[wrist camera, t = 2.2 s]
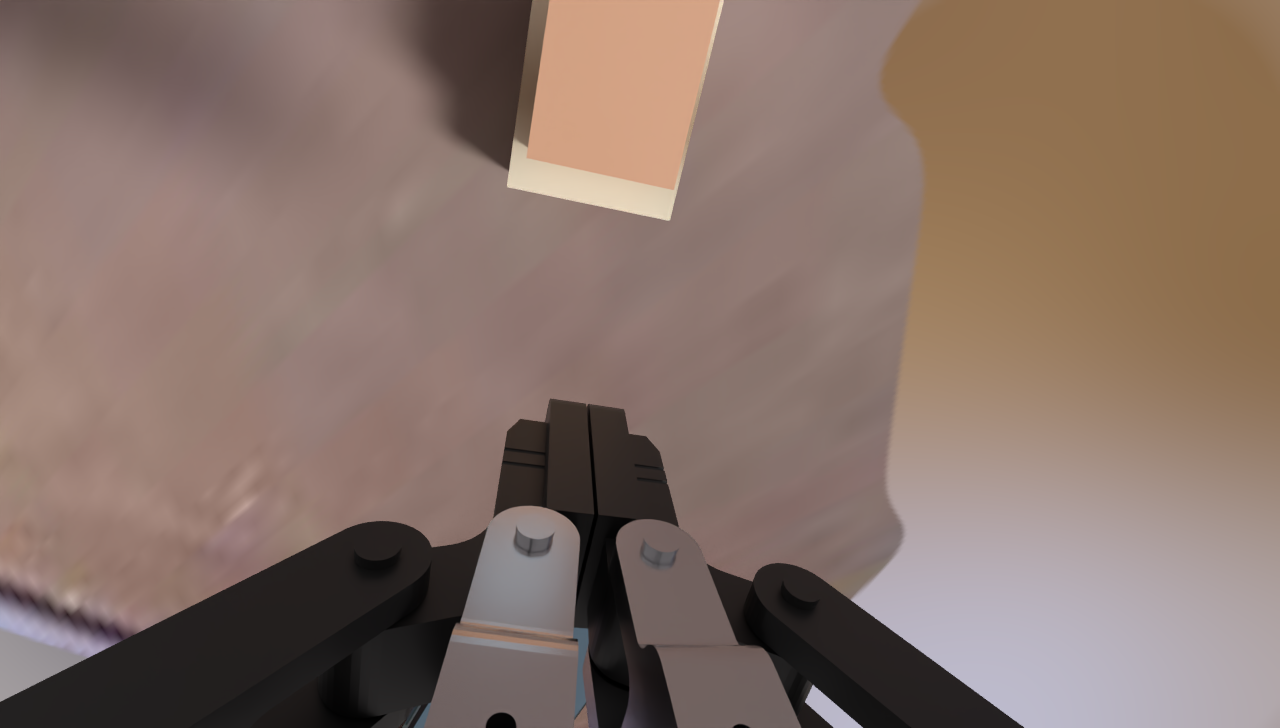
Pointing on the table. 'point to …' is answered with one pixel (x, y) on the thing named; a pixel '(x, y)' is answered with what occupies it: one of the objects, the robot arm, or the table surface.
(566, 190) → the deck
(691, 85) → the tile
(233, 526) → the table surface
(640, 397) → the table surface
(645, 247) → the table surface
